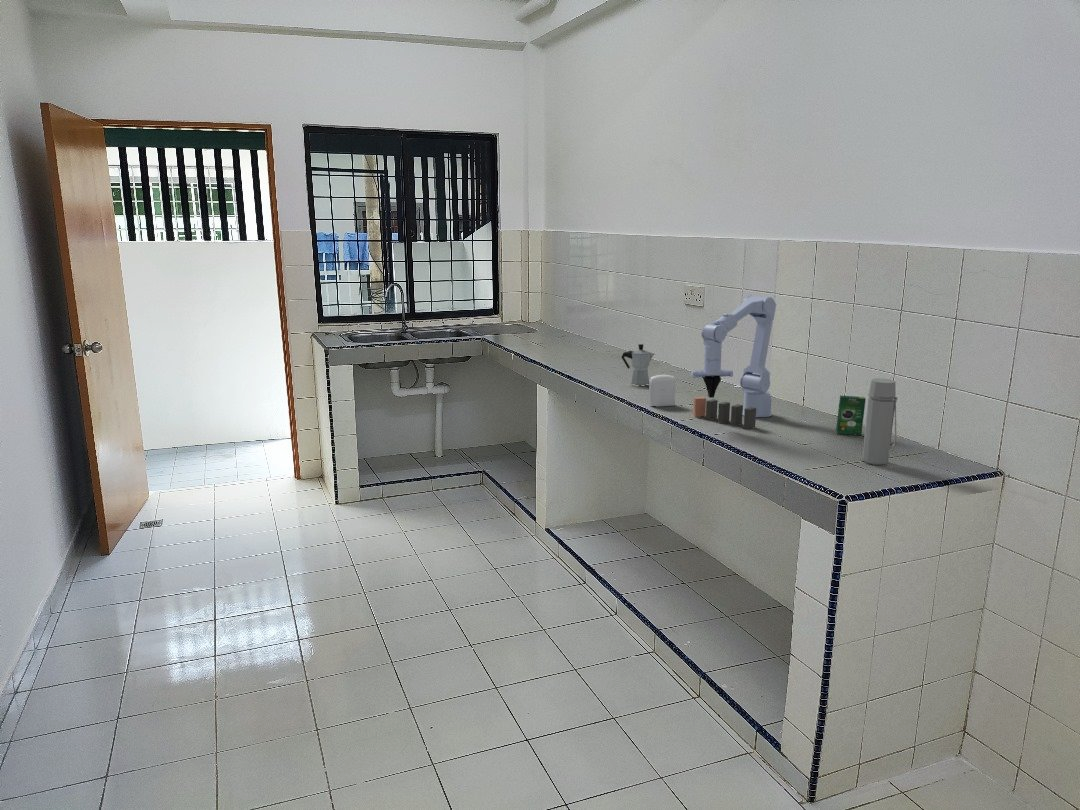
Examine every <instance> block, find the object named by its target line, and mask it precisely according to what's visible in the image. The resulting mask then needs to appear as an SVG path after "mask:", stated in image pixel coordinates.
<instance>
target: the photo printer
mask: <svg viewBox="0 0 1080 810" xmlns="http://www.w3.org/2000/svg"><path fill="white" fill-rule="evenodd" d="M648 386H649V387H648V388H649V389H648V390H649V391H648V392H649V393H648V394H649V395H648V401H649V402H648V403H649V404H648V406H649V405H650V406H649V407H651V406H656V407H672V406H675V405H676V378H675V376H673V375H669V374H658V375H653V376H651V377H650V378H649V385H648Z"/></svg>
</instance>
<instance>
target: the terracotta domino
mask: <svg viewBox="0 0 1080 810" xmlns="http://www.w3.org/2000/svg"><path fill="white" fill-rule="evenodd" d="M706 401H707V398H706V397H705V396H701V397H699V396H698V397H693V408H692V409H693V412H692V413H693V414H692V415H693V417H694V416H695V417H694V418H702V417H701V416H705V417H706Z"/></svg>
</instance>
